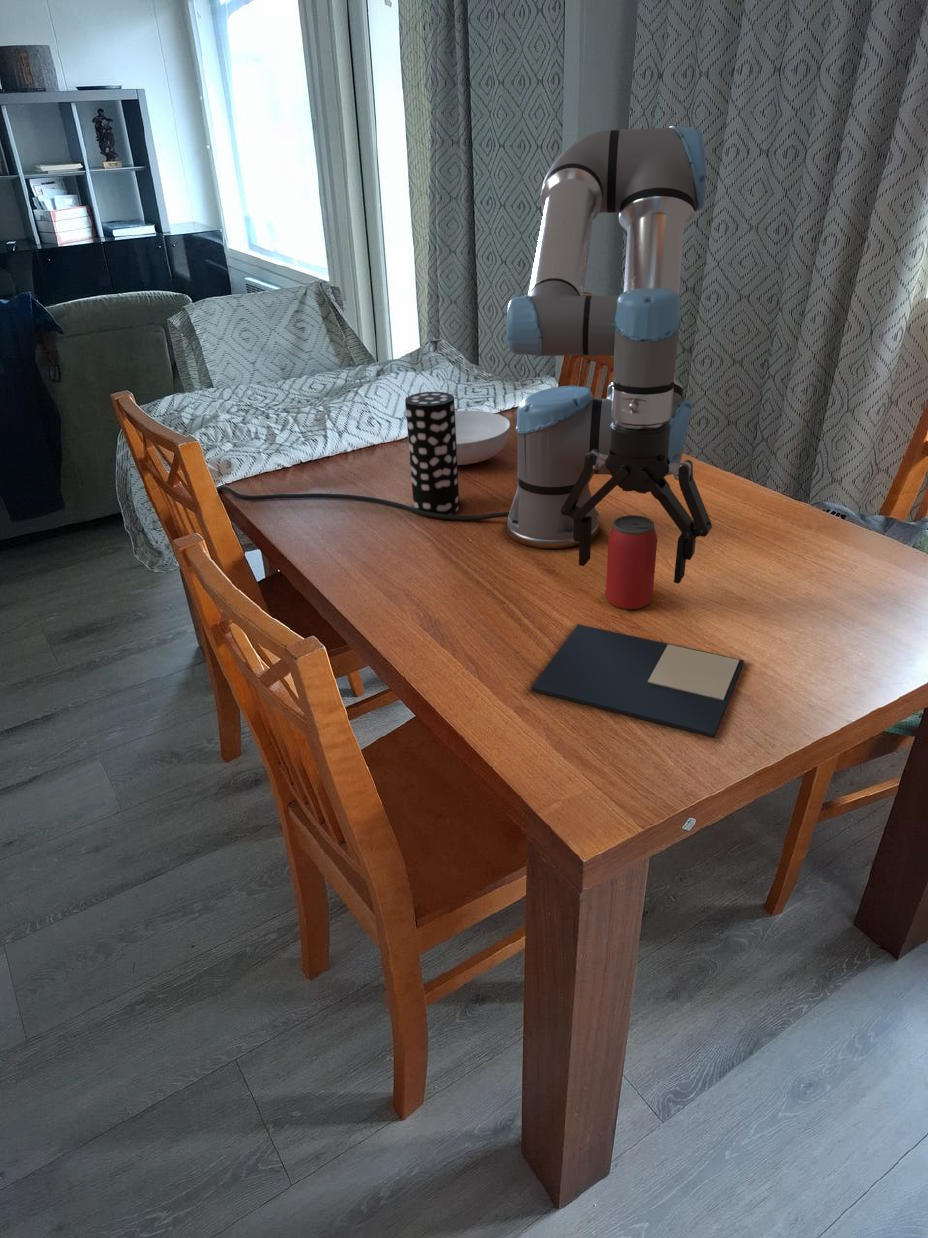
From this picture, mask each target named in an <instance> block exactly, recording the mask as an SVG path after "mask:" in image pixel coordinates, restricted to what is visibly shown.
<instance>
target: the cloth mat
mask: <svg viewBox="0 0 928 1238" xmlns="http://www.w3.org/2000/svg"><path fill="white" fill-rule="evenodd" d="M744 663H745V660H744V659H740V658H736V657H732V656H727V655H722V654H718V653H713V652H708V651H704V650H699V649H695V648H689V647H686V646H681V645H676V644H671V643H667V642H662V641H657V640H653V639H649V638H643V637H639V636H634V635H631V634H630V635H629V634H626V633H621V632H616V631H611V630H606V629H601V628H598V627H592V626H587V625H583V624H576V626H575V628H574V629H573V630H572V631H571V633H570V634H569V636H568V637H567V638H566V639H565V641H564V642H563V644H562V645H561V647H560V648H559V649H558V650H557V651H556V653H555V655H554V656H553V657H552V659H551V660H550V661H549V663H548V664H547V665H546V666H545V668H544V669H543V671H542V672H541V673H540V675H539V676H538V677H537V679H536V680H535V681H534V683H533V684H532V686H531V688H530V690H531V692H534V693H539V694H542V695H546V696H550V697H554V698H557V699H561V700H565V701H569V702H573V703H576V704H581V705H585V706H589V707H593V708H596V709H600V710H603V711H604V710H605V711H608V712H612V713H616V714H619V715H623V716H627V717H631V718H634V719H639V720H643V721H647V722H650V723H655V724H659V725H662V726H666V727H671V728H674V729H678V730H682V731H686V732H690V733H693V734H698V735H702V736H704V737H710V738H713V739H715V737H716V735H717V732H718V730H719V727H720V724H721V722H722V720H723V717H724V714H725V712H726V710H727V707H728V704H729V702H730V699H731V696H732V694H733V692H734V690H735V686H736V684H737V681H738V679H739V676H740V674H741V671H742V669H743V666H744Z"/></svg>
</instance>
